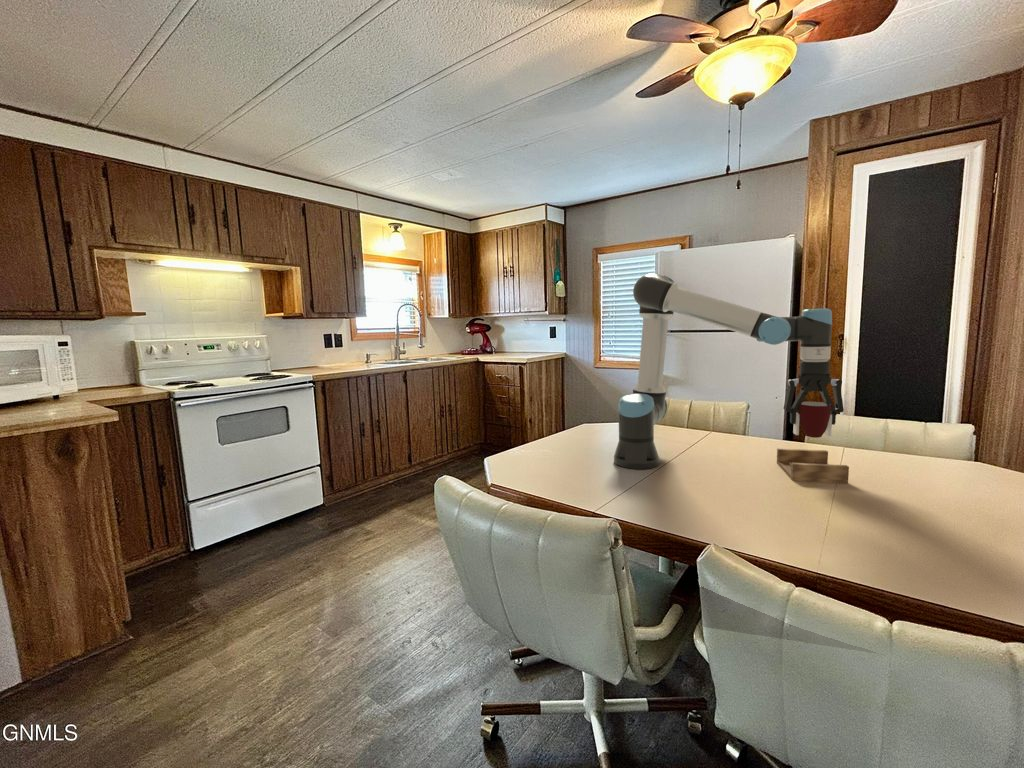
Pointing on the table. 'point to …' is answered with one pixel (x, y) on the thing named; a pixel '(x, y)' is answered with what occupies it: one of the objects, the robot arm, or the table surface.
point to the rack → (811, 466)
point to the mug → (814, 418)
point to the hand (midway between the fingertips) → (811, 434)
